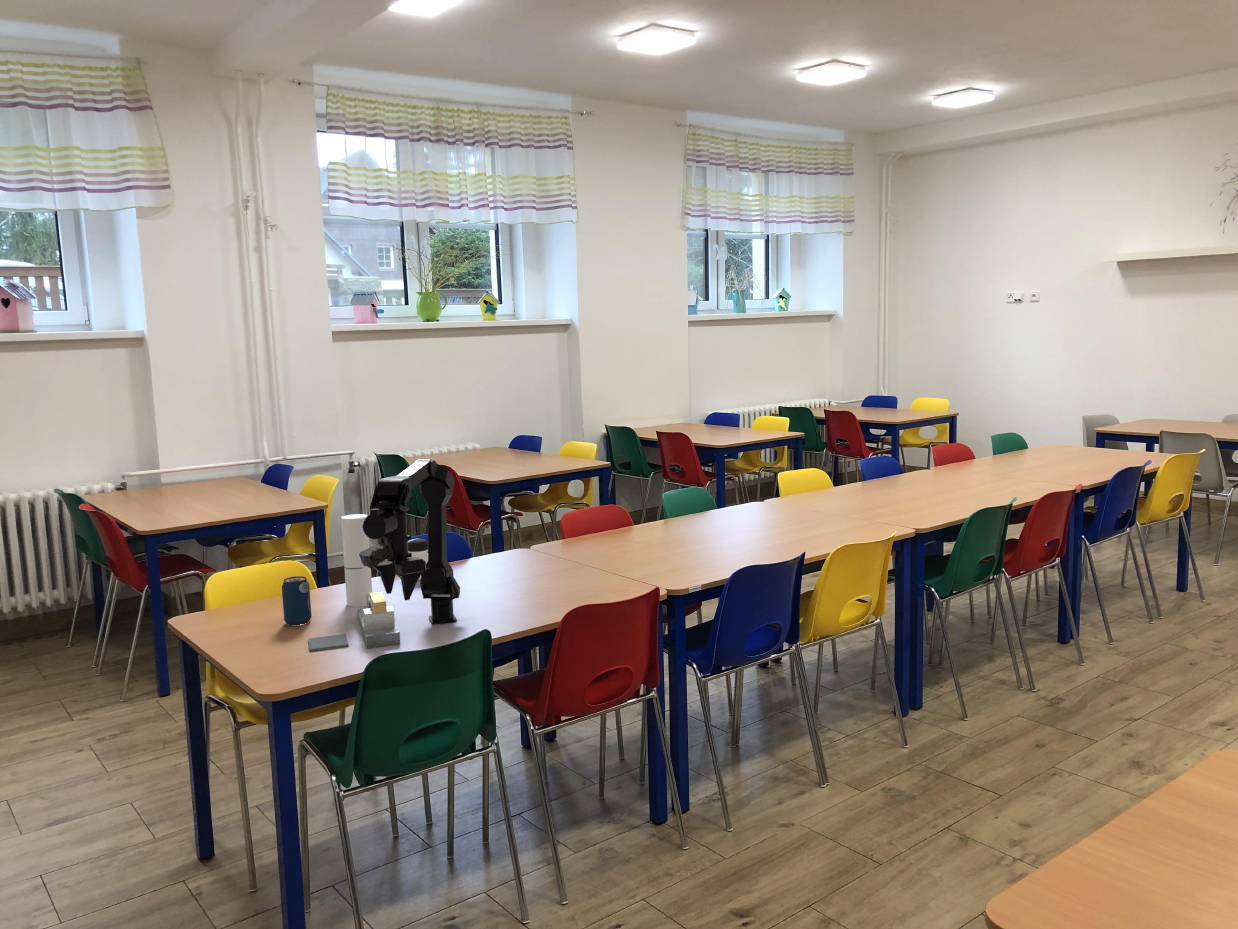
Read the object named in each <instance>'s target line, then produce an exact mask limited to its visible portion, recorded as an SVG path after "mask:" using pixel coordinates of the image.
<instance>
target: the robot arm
mask: <svg viewBox="0 0 1238 929" xmlns="http://www.w3.org/2000/svg"><path fill="white" fill-rule="evenodd" d="M417 486H418V487H420V494H421V497H422V498H423V500H424V502H425V503H426V505H427V547H428V552H427V553H428V562H427V563H426V562H425V561H424V560H423V559H421V558H418V557H412V553H410V552H408V541H410V540H412V535H409V534H408V518H407V511H409V510H410V507H409V505H408V503H409V500H410V499H411V498H412V496H413V492H412V490H414V489H415V488H417ZM454 486H455V477H454V475H453V474H452V473H451V471H450V470H449V469H448V468H446V467H444V466H442V465H440V464H438V463H437V462H436V460H433V459H431V458H428V459H427V458H426V459H425V458H423V459H422V458H418V459H416V460H414V461H413V463H412V464H410V466H407V467H406V469H404V470H403V471H401V472H400V473H399V474H397V475H394V476H387V477H383V478H381V479H379V480H378V481H377V484H376V485H375V488H374V492H373V494H372V498H371V501H370V505H369V515H367V517H366V518H365V520H364V523H363V531H364V533H365V534H366V536H367V537H369V539H372V540H378V541H377V542H378V543H377V544H375V545H372V546H369V548H368V549H366V550H364V551H362V552H361V553H359V556H360V558H361V561H362V563H363V565H364V566H367V567H369V568H371V569H372V568H373V569H374V570H376V571H377V572H378V575H379V577H380V578H381V582H382V584H383V588H384V590H385V593H386V594H387V595H390V594H391V593H392V592H393V589H394V584H395V579H396V576H397V577H398V578H399V579H400V580H401V581H400V582H401V587H402V588H401V589H402V594H403V598H404V599H403V600H404V601H410V599H411V596H413V591H414V590H415V589H416V588H415V587H416V585H417V583H418V582H419V580H418V579H419V577H420V576H421V580H420V582H419V586H420V590H421V594H422V599H424V600H425V599H429V600H430V610H431V615H428V619H429V621H430V623H431V624H432V625H435V624H445V623H453V622H457V621H458V619H457V617H456V616H455V614H454V602H453V601H454V600H455V599H459V598H460V593H461V586H460V584H459V583H458V581H457V579H455V577H454V569H453V567H452V565H451V564H450V563H449V561H448V558H447V557H448V555H447V554H448V552H447V551H448V549H447V545H448V544H447V543H448V542H447V537H448V536H447V535H448V534H447V532H448V530H447V529H448V528H447V525H448V524H447V519H448V518H447V505H448V503H449V501H450V499H451V498H452V496H453V493H454ZM409 557H411V558H409Z"/></svg>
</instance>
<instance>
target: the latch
mask: <svg viewBox="0 0 1238 929" xmlns="http://www.w3.org/2000/svg"><path fill="white" fill-rule="evenodd" d="M370 605H371V607H372V610H373V612H374V615H376V614H384V613H387V607H386V605H387V600H386V597H385V596H384V593H383V591H376V592H373V591H372V593H370Z"/></svg>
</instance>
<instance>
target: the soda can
mask: <svg viewBox="0 0 1238 929" xmlns="http://www.w3.org/2000/svg"><path fill="white" fill-rule="evenodd" d="M310 590H311V589H310V583H309V581H308V579H307V577H306V576H299V575H297V576H290V577H287V578H284V579H283V583H282V585H281V596H282V608H283V609H282V610H283V621H284V622H285V623H286V625H287V624H289V625H300V624H305V623H307V624H309V623H310V621H311V620H312V617H313V616H312V604H311V591H310ZM308 622H309V623H308ZM289 625H288V626H289ZM305 625H306V624H305Z"/></svg>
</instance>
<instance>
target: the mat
mask: <svg viewBox="0 0 1238 929" xmlns="http://www.w3.org/2000/svg"><path fill="white" fill-rule="evenodd" d="M307 641H308V647H309V652H316V651H315V650H318V651H323V650H325V649H326V650H331V649H338V648H340V647H341V648H347V647H349V646H350V645H349V640H348V638H347V634H346V633H343V634H333V635H326V636H318V637H309V638H308V639H307ZM326 650H325V651H326Z"/></svg>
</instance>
